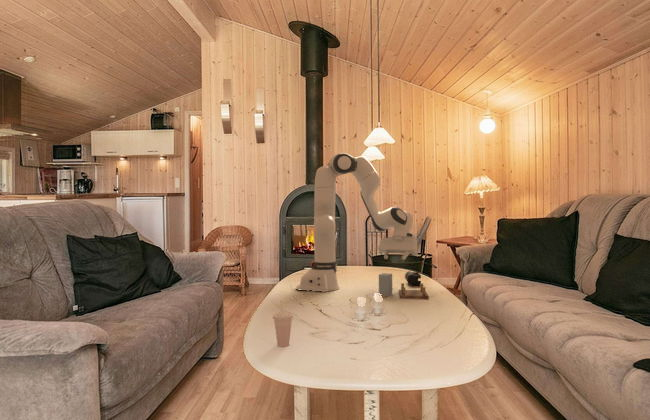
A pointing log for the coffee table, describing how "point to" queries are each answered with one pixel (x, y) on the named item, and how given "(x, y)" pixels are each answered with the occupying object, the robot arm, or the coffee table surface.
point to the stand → (413, 293)
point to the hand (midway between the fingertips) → (394, 258)
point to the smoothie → (283, 327)
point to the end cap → (413, 278)
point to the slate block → (385, 284)
